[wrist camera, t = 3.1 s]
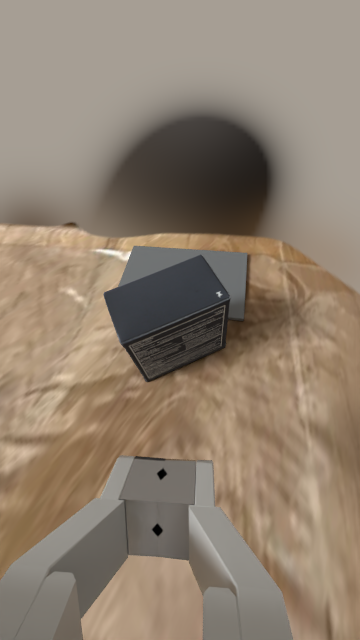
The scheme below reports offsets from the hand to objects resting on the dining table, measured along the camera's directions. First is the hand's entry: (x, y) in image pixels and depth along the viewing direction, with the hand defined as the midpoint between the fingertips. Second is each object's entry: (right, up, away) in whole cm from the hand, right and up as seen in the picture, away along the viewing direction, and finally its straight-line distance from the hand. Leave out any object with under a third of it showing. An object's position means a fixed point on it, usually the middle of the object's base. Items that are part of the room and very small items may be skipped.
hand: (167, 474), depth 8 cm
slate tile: (+1, +11, +30) cm, 32 cm away
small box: (0, +2, +24) cm, 24 cm away
